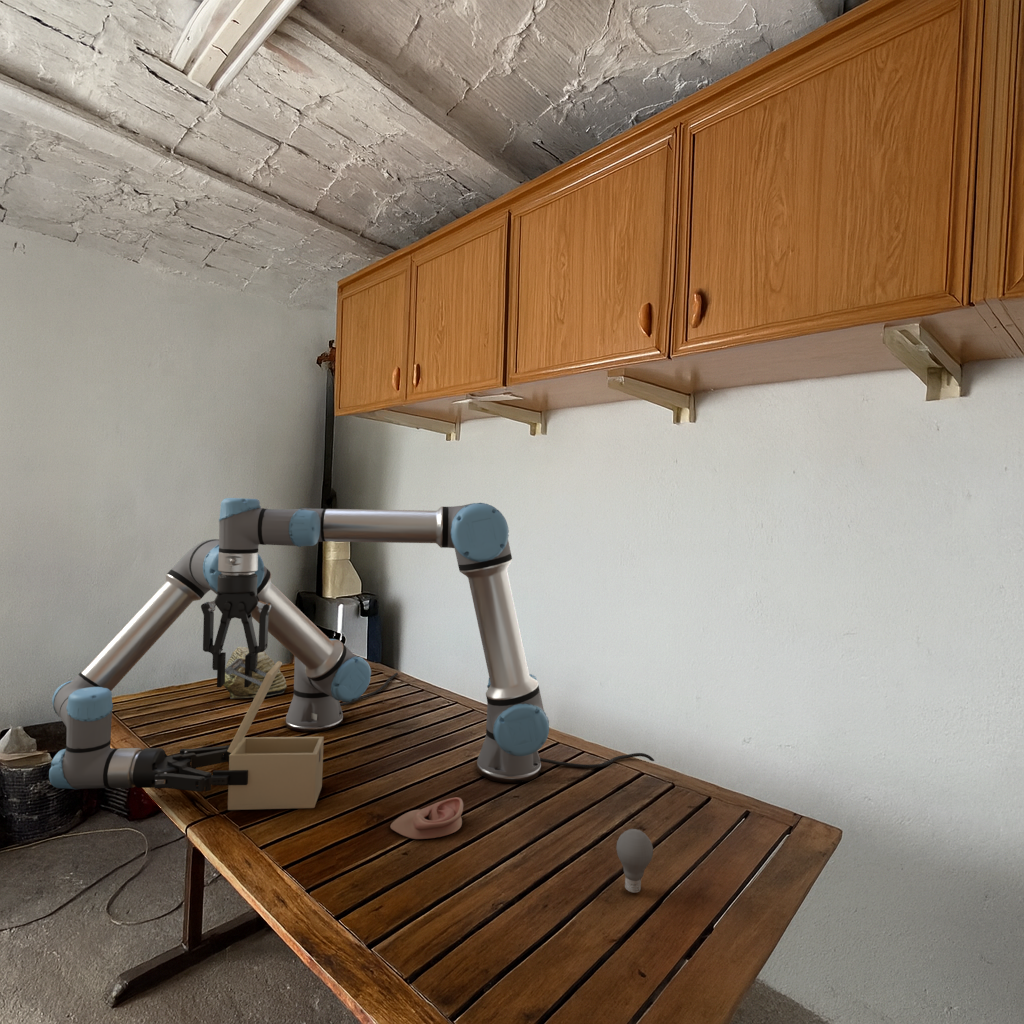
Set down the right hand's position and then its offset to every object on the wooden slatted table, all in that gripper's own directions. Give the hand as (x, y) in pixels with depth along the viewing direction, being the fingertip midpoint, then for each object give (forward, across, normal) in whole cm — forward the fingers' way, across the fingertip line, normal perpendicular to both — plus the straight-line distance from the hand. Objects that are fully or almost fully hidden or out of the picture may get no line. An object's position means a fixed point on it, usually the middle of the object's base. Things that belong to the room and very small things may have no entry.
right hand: (234, 685), depth 131 cm
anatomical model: (+24, +40, -13) cm, 49 cm away
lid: (+4, +5, 0) cm, 7 cm away
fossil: (+24, -13, +69) cm, 74 cm away
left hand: (+17, +4, 0) cm, 18 cm away
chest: (+24, +9, 0) cm, 25 cm away
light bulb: (+24, +74, -36) cm, 86 cm away
